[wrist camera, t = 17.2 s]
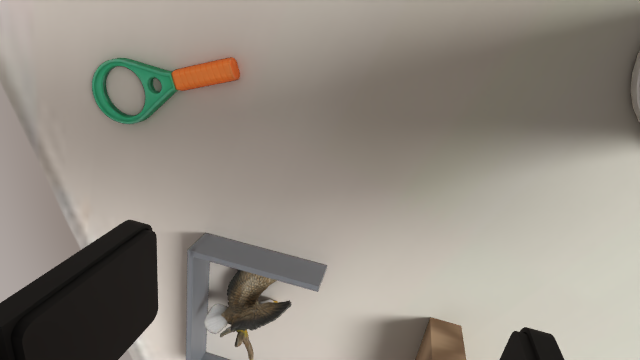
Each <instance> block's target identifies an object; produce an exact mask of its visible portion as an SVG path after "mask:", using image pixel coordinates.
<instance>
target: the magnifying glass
mask: <svg viewBox="0 0 640 360" xmlns="http://www.w3.org/2000/svg"><path fill="white" fill-rule="evenodd" d="M116 66H124V67H127V68H128V69H130V70H132V71H133V72H134V73H135V74H136V75H137V76H138V78H139V79H140V81H141V82H142V85H143V87H144V90H145V105H144V108H143V110H142V111H141V112H140V114H138V115H135V116H132V115H127V114H125V113H122V112H121V111H119V110H118V109H117V108H116V107H115V106H114V105H113V103H112V102H111V100H110V98H109V96H108V94H107V89H106V79H107V76H108V74H109V72H110V71H111V70H112V69H113V68H114V67H116ZM239 77H240V73H239V69H238V65H237V62H236V60H235V59H234V58H232V57H230V58H225V59H220V60H216V61H212V62H207V63H203V64H198V65H194V66H189V67H185V68H181V69H176V70H175V71H173V72H171V71H167V70H164V69H160V68H157V67H154V66H151V65H147V64H144V63H141V62H138V61H134V60H131V59H127V58H117V59H112V60H108V61H106V62H104V63H103V64H101V65H100V66H99V67H98V69H97V70H96V72H95V73H94V76H93V80H92V91H93V95H94V98H95V101H96V103H97V105H98V106H99V108H100V109H101V111H102V112H103V113H104V114H105V115H106V116H108V117H109V118H111V119H112V120H114V121H117V122H119V123H123V124H134V123H138V122H141V121H143V120H145V119H147V118H148V117H150V116H151V115H152V114H153V113H154V112H155V111H156V110H157V109H158V108H159V107H160V106H161V105H163V104H164V103H165V102H166V101H167V100H168V99H169V98H170V97H171V96H172V95H173V94H174V93H175V92H177V91H178V90H181V91H184V90H189V89H194V88H199V87H204V86H209V85H214V84H220V83H225V82H230V81H234V80H238V79H239ZM154 78H157V79H158V80H159V81H160V82H161V85H162V89H161V91H160V92H158V91H156V90H155V89H154V87H153V79H154Z"/></svg>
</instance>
